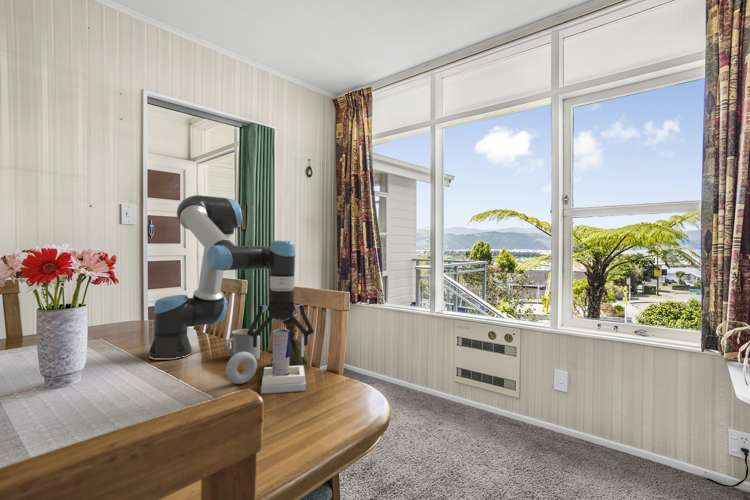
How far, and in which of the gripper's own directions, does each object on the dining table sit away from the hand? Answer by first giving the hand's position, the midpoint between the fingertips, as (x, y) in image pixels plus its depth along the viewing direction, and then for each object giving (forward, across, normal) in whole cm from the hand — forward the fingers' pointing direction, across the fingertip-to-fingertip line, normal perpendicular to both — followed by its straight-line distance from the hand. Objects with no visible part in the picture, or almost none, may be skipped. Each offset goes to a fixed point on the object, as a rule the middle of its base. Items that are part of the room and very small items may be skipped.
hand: (280, 356), depth 122 cm
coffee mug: (+9, -16, +34) cm, 38 cm away
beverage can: (+7, 0, 0) cm, 7 cm away
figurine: (+9, +3, +19) cm, 21 cm away
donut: (+9, -12, +3) cm, 15 cm away
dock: (+9, +1, +1) cm, 9 cm away
